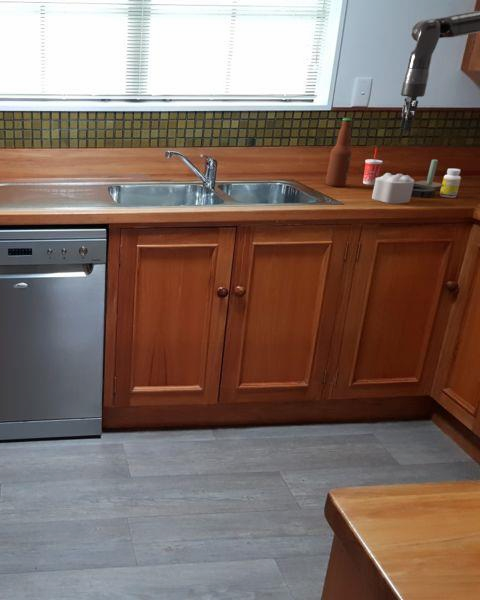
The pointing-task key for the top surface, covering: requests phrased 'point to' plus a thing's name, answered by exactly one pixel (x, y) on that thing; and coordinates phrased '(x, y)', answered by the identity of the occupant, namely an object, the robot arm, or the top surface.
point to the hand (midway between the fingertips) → (405, 129)
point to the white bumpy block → (393, 188)
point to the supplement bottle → (450, 183)
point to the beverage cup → (371, 170)
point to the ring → (422, 191)
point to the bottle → (340, 157)
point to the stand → (430, 178)
